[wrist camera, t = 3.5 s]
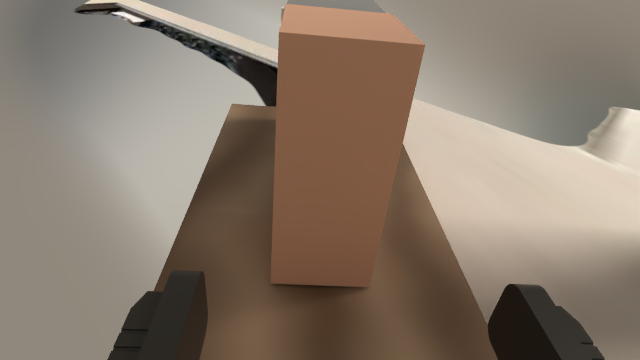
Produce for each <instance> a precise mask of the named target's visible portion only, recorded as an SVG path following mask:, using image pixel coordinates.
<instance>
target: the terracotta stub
mask: <svg viewBox="0 0 640 360" xmlns="http://www.w3.org/2000/svg"><path fill="white" fill-rule="evenodd" d="M424 48H425V44H423V42H422V41H420V40H419V39H418V38H417V37H416V36H415V35H414V34H413V33H412V32H411V31H410V30H409V29H408V28H406V27H405V26H404V25H403V24H402V23H401V22H400V21H399V20H398V19H397V18H396V17H395V16H394V15H393V14H388V13H378V12H367V11H357V10H346V9H336V8H325V7H314V6H304V5H293V4H286V6H285V10H284V14H283V18H282V22H281V27H280V30H279V49H278V78H277V108H276V137H275V166H274V195H273V224H272V253H271V282H270V283H271V284H297V285H323V286H349V287H370V282H371V278H372V274H373V269H374V265H375V261H376V256H377V252H378V248H379V243H380V239H381V235H382V230H383V226H384V221H385V217H386V213H387V208H388V204H389V200H390V195H391V191H392V187H393V182H394V178H395V174H396V169H397V165H398V161H399V156H400V152H401V148H402V143H403V139H404V135H405V130H406V126H407V122H408V117H409V113H410V109H411V104H412V100H413V95H414V91H415V86H416V82H417V78H418V74H419V69H420V65H421V61H422V56H423V52H424Z"/></svg>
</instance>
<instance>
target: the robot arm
mask: <svg viewBox="0 0 640 360" xmlns="http://www.w3.org/2000/svg"><path fill="white" fill-rule="evenodd" d="M207 322H208V305H207V295H206V285H205V275H204V272H203V271H184V270H173V271H172V272H171V273H170V275H169V278H168V280H167V283H166V285H165V288H164V291H163V292H156V291H148V292H146V293H145V295H144V296H143V297H142V298H141V299H140V300H139V301H138V302H137V303H136V304H135V305H134V306H133V307H132V308H131V309H130V312H129V314H128V316H127V318H126V320H125V323H124V325H123V327H122V331H121V333H120V334H119V336H118V338H117V340H116V342H115V344H114V349H113V351H111V353H110V355H109V358H108V360H200V356H201V351H202V347H203V343H204V339H205V335H206V329H207ZM488 335H489V340H490V343H491V345H492V347H493V350H494V352H495V354H496V356H497V359H498V360H605V358H604V357H603V356H602V354H601V353H600V351H599V350H598V348H597V347H596V346H594V345H593V341H592V340H591V338H590V337H589V336H588V334H587V333H586V331H585V330H584V329H583V327H582V326H581V324H580V323H579V322H578V321H577V320H576V319H574V318H573V317H572V316H571V315H570V314H569V313H568V312H567V311H565V310H564V309H563V308H562V307H561V306H555V304H554V303H553V301H552V300H551V298H550V297H549V295H548V294H547V292H546V291H545V289H544V288H542V287H541V286H539V285H524V284H509V285H507V286H506V288H505V289H504V291H503V293H502V295H501V297H500V299H499V301H498V303H497V305H496V307H495V309H494V311H493V313H492V315H491V317H490V319H489V323H488Z"/></svg>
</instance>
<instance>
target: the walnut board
mask: <svg viewBox="0 0 640 360" xmlns="http://www.w3.org/2000/svg"><path fill="white" fill-rule="evenodd" d="M276 108H277V107H268V106H254V105H241V104H232V105H231V108H230V110H229V113H228V115H227V117H226V120H225V122H224V124H223V127H222V129H221V132H220V134H219V136H218V139H217V141H216V143H215V146H214V148H213V151H212V153H211V155H210V158H209V160H208V163H207V165H206V167H205V170H204V172H203V174H202V177H201V180H200V182H199V184H198V187H197V189H196V191H195V194H194V196H193V199H192V201H191V203H190V206H189V208H188V210H187V213H186V215H185V217H184V220H183V222H182V225H181V227H180V229H179V232H178V234H177V237H176V239H175V241H174V244H173V246H172V248H171V251H170V254H169V256H168V258H167V260H166V263H165V265H164V268H163V270H162V272H161V275H160V277H159V280H158V282H157V284H156V287H155V289H154V291H156V292H163V291H164V288H165V285H166V283H167V280H168V278H169V275H170V273H171V272H172V271H173V270H184V271H203V272H204V275H205V285H206V295H207V305H208V322H207V329H206V335H205V339H204V343H203V347H202V351H201V356H200V360H498V359H497V356H496V354H495V352H494V350H493V347H492V345H491V343H490V340H489V335H488V326H487V324H486V322H485V320H484V317H483V315H482V313H481V311H480V309H479V307H478V304H477V302H476V300H475V298H474V296H473V294H472V292H471V289H470V287H469V285H468V283H467V281H466V279H465V277H464V274H463V272H462V270H461V268H460V266H459V264H458V261H457V259H456V257H455V255H454V253H453V251H452V249H451V246H450V244H449V242H448V240H447V238H446V236H445V234H444V231H443V229H442V227H441V225H440V223H439V221H438V218H437V216H436V214H435V212H434V210H433V208H432V206H431V203H430V201H429V199H428V197H427V195H426V193H425V191H424V188H423V186H422V184H421V182H420V180H419V178H418V175H417V173H416V171H415V169H414V167H413V165H412V163H411V160H410V158H409V156H408V154H407V152H406V150H405V148H404V145H403V143H402V148H401V152H400V156H399V161H398V165H397V169H396V174H395V178H394V182H393V187H392V191H391V195H390V200H389V204H388V208H387V213H386V217H385V221H384V226H383V230H382V235H381V239H380V243H379V248H378V252H377V256H376V261H375V265H374V269H373V274H372V278H371V282H370V287H349V286H323V285H297V284H271V283H270V282H271V253H272V224H273V195H274V166H275V137H276Z"/></svg>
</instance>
